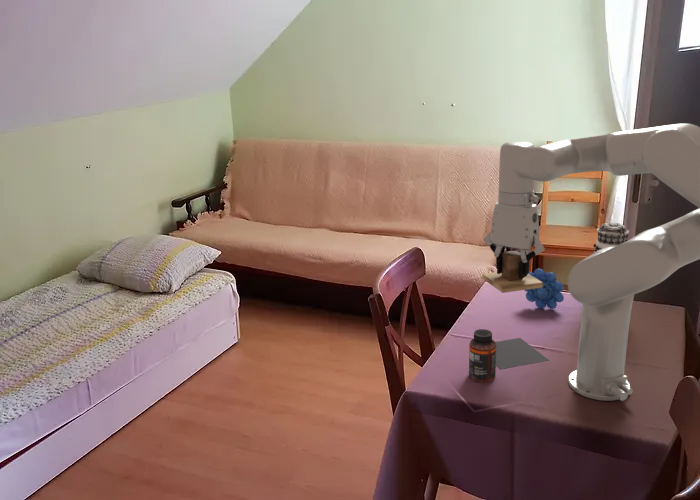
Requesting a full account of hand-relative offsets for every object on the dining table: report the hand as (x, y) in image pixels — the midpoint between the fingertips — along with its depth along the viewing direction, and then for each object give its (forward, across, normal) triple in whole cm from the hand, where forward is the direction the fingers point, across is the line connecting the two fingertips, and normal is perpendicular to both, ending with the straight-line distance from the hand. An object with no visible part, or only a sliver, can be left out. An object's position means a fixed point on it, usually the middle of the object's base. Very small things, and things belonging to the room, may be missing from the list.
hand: (512, 273), depth 146 cm
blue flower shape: (+21, +6, -31) cm, 38 cm away
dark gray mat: (+21, 0, -2) cm, 21 cm away
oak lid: (+2, 0, 0) cm, 2 cm away
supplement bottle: (+22, 0, +13) cm, 25 cm away
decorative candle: (+22, -8, -41) cm, 47 cm away
